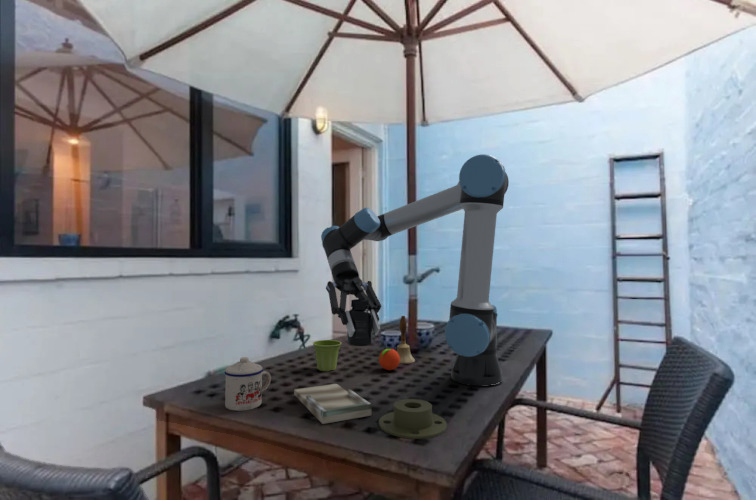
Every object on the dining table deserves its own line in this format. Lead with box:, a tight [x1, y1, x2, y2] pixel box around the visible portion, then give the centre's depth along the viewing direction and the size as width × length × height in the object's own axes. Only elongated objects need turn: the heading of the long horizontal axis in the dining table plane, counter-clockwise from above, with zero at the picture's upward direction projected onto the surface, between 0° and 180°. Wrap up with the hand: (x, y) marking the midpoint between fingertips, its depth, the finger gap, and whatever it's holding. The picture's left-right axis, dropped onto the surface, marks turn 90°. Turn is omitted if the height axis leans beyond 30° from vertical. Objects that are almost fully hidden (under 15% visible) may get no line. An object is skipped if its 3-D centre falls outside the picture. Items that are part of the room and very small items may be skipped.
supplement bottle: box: [346, 298, 373, 347], centre depth 117 cm, size 7×7×12 cm
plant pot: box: [312, 339, 342, 372], centre depth 142 cm, size 9×9×9 cm
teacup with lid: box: [224, 356, 272, 412], centre depth 108 cm, size 12×9×12 cm
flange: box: [378, 398, 448, 440], centre depth 96 cm, size 5×15×15 cm
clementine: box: [378, 347, 400, 371], centre depth 141 cm, size 8×7×7 cm
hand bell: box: [396, 315, 416, 365], centre depth 154 cm, size 8×8×16 cm
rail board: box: [293, 383, 372, 425], centre depth 108 cm, size 22×12×3 cm, turn 27°
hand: (365, 332), depth 114 cm, fingers closed on supplement bottle, 7 cm apart
